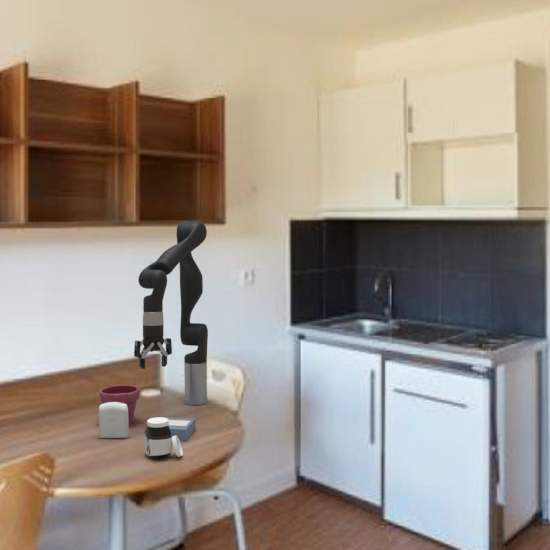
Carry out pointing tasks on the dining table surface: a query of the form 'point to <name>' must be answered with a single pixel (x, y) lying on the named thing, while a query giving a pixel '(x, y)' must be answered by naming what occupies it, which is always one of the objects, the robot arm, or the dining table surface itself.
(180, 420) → the base block
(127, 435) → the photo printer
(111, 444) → the dining table surface
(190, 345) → the robot arm
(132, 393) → the plant pot
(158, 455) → the spread jar
